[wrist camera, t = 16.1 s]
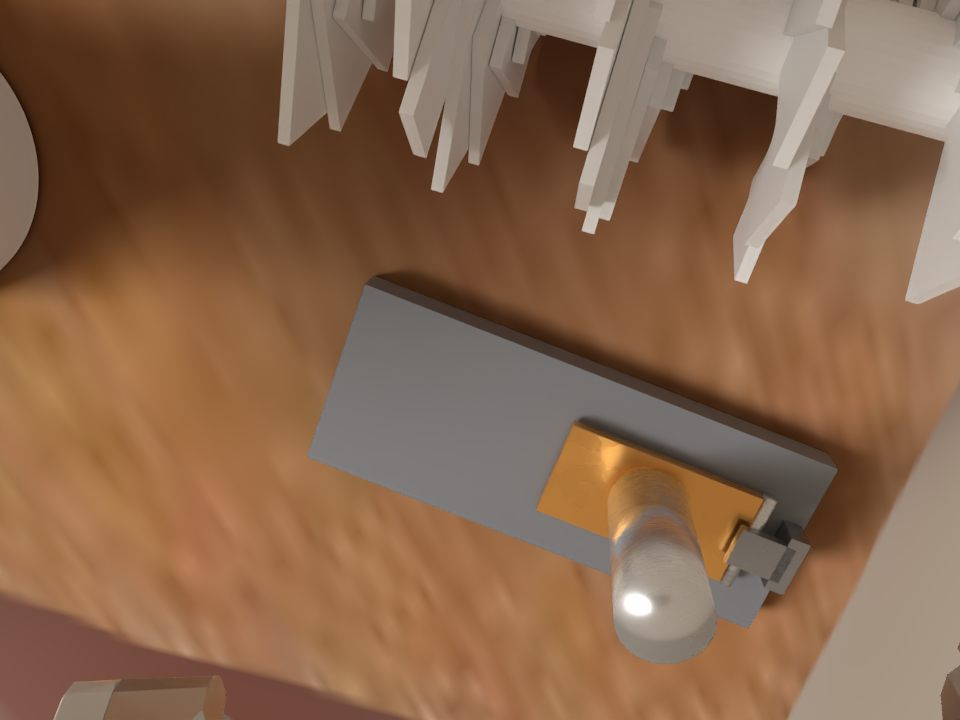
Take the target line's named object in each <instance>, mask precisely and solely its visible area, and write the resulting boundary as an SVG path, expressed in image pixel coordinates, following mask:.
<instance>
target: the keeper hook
mask: <svg viewBox="0 0 960 720" xmlns="http://www.w3.org/2000/svg"><path fill="white" fill-rule="evenodd" d="M810 547H811V545H810V543H809V541H808V538H807V536H806V534H805V532H804V530H803V528H802V526H799V525H797V524H794V523H792V522H789V521H787V520H784V519H783V521H782V522H781V524H780V526H779V528H778V530H777V532H776V533H775V535H774V537H773V536H771V535H768V534H766V533H763V532H760V531H758V530H755V529H753V528H750V527H748V526H745V525H743V524H741V525H740V527H739V529H738V531H737V533H736V535H735V537H734V538H733V540H732V542H731V544H730V546H729V548H728V550H727V552H726V553H725V555H724V560H725V563H726V564H729V565H731V566H734V567H737V568H739V569H742V570H744V571H747V572H749V573H752V574H755V575H757V576H760V578H761V581H762V583H763V586H764V588H765V589H768V590H770V591H773V592H775V593H778V594H780V595H783V594H784V593H785V591H786V589H787V587H788V586H789V584H790V582H791V580H792V579H793V577H794V575H795V573H796V572H797V570H798V568H799V566H800V565H801V563H802V561H803V559H804V558H805V556H806V554H807V552H808V551H809V549H810Z"/></svg>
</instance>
